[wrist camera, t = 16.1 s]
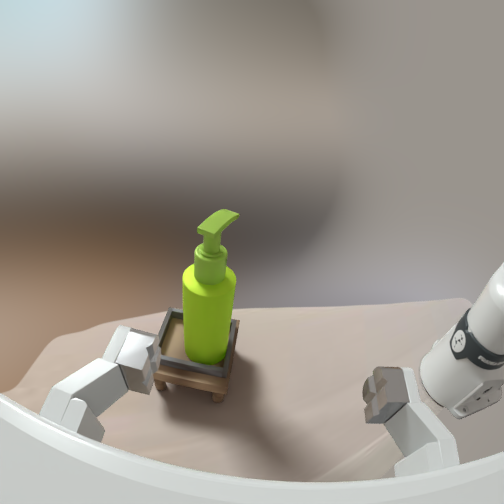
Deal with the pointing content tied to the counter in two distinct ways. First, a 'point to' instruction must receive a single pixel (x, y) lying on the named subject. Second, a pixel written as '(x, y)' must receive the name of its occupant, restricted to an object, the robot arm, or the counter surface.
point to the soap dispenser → (209, 294)
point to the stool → (185, 370)
